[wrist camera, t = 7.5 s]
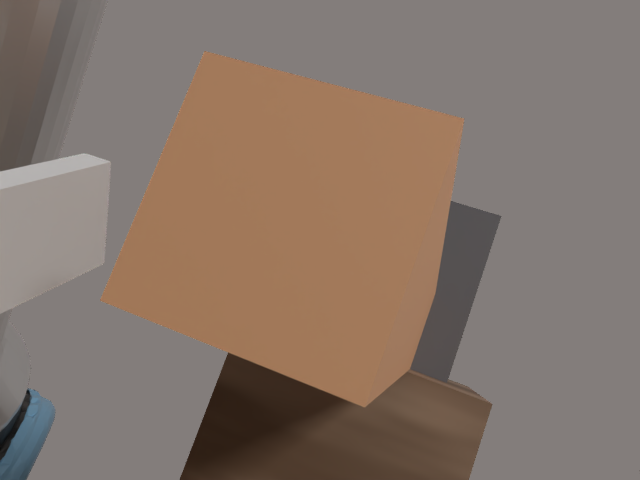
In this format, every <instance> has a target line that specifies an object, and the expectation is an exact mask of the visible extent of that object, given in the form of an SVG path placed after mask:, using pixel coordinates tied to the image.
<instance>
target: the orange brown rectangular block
mask: <svg viewBox="0 0 640 480" xmlns="http://www.w3.org/2000/svg"><path fill="white" fill-rule="evenodd" d="M463 124H464V119H463V118H459V117H456V116H452V115H448V114H444V113H441V112H437V111H433V110H429V109H425V108H421V107H417V106H414V105H409V104H406V103H402V102H398V101H394V100H391V99H387V98H383V97H379V96H375V95H371V94H367V93H364V92H360V91H356V90H352V89H348V88H344V87H341V86H337V85H333V84H329V83H325V82H321V81H318V80H313V79H310V78H306V77H302V76H298V75H294V74H291V73H287V72H282V71H279V70H275V69H271V68H268V67H264V66H260V65H256V64H252V63H248V62H244V61H241V60H237V59H233V58H229V57H225V56H221V55H218V54H214V53H210V52H206V51H205V52H204V54H203V56H202V59H201V61H200V64H199V66H198V68H197V70H196V73H195V75H194V78H193V80H192V82H191V85H190V87H189V90H188V92H187V95H186V97H185V99H184V102H183V104H182V106H181V109H180V111H179V113H178V116H177V118H176V121H175V123H174V125H173V128H172V130H171V133H170V135H169V137H168V140H167V142H166V145H165V147H164V149H163V152H162V154H161V156H160V159H159V161H158V163H157V166H156V168H155V171H154V173H153V175H152V178H151V180H150V183H149V185H148V187H147V190H146V192H145V194H144V197H143V199H142V202H141V204H140V206H139V209H138V211H137V214H136V216H135V218H134V221H133V223H132V226H131V228H130V230H129V233H128V235H127V237H126V240H125V242H124V245H123V247H122V249H121V252H120V254H119V257H118V259H117V261H116V264H115V266H114V268H113V271H112V273H111V276H110V278H109V281H108V283H107V286H106V288H105V290H104V292H103V295H102V297H101V299H100V300H101V301H102V302H105V303H107V304H110V305H113V306H115V307H117V308H120V309H122V310H125V311H127V312H130V313H132V314H135V315H137V316H139V317H142V318H144V319H147V320H149V321H152V322H155V323H157V324H159V325H162V326H164V327H167V328H170V329H172V330H174V331H177V332H179V333H182V334H184V335H187V336H189V337H192V338H194V339H196V340H199V341H202V342H204V343H206V344H209V345H211V346H214V347H216V348H219V349H221V350H224V351H226V352H229V353H231V354H234V355H236V356H239V357H241V358H243V359H246V360H248V361H251V362H253V363H256V364H258V365H261V366H263V367H266V368H268V369H271V370H273V371H276V372H278V373H281V374H283V375H286V376H288V377H290V378H293V379H295V380H298V381H300V382H303V383H305V384H308V385H310V386H313V387H315V388H318V389H320V390H323V391H325V392H328V393H330V394H333V395H335V396H338V397H340V398H342V399H345V400H347V401H350V402H352V403H355V404H357V405H360V406H362V407H366V406H367V405H368V404H370V403H371V402H372V401H373V400H374V399H375V398H377V397H378V396H379V395H380V394H381V393H382V392H384V391H385V390H386V389H387V388H388V387H389V386H391V385H392V384H393V383H394V382H395V381H397V380H398V379H399V378H400V377H401V376H402V375H404V374H405V373H406V372H407V371H408V370H409V369H411V370H414V371H416V372H419V373H422V374H424V375H427V376H430V377H432V378H435V379H438V380H440V381H443V382H446V383H447V381H448V378H449V375H450V372H451V368H452V365H453V362H454V359H455V356H456V353H457V350H458V347H459V344H460V341H461V338H462V335H463V332H464V328H465V326H466V323H467V320H468V317H469V314H470V310H471V307H472V304H473V301H474V298H475V295H476V292H477V289H478V286H479V283H480V280H481V277H482V274H483V270H484V268H485V264H486V262H487V258H488V255H489V252H490V249H491V246H492V243H493V240H494V237H495V234H496V230H497V228H498V224H499V221H500V218H501V216H499V215H496V214H492V213H489V212H486V211H483V210H479V209H476V208H472V207H469V206H466V205H462V204H459V203H456V202H452V201H451V196H452V190H453V184H454V178H455V172H456V166H457V160H458V154H459V148H460V141H461V136H462V130H463Z"/></svg>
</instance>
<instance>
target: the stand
mask: <svg viewBox="0 0 640 480" xmlns="http://www.w3.org/2000/svg"><path fill="white" fill-rule="evenodd" d="M491 407H492V404H491V403H490V402H488V401H487V400H486V399H484V398H483V397H481V396H480V395H479V394H477V393H476V392H474V391H473V390H472V389H470V388H469V387H467V386H465V385H462V384H459V383H457V382H454V381H451V380H449V379H448V381H447V383H446V382H443V381H440V380H438V379H435V378H432V377H430V376H427V375H424V374H422V373H419V372H416V371H414V370H411V369H409V370H408V371H407V372H406V373H405V374H404V375H402V376H401V377H400V378H399V379H398V380H397V381H395V382H394V383H393V384H392V385H391V386H389V387H388V388H387V389H386V390H385V391H384V392H382V393H381V394H380V395H379V396H378V397H377V398H375V399H374V400H373V401H372V402H371V403H370V404H368V405H367V406H366V407H362V406H360V405H357V404H355V403H352V402H350V401H347V400H345V399H342V398H340V397H338V396H335V395H333V394H330V393H328V392H325V391H323V390H320V389H318V388H315V387H313V386H310V385H308V384H305V383H303V382H300V381H298V380H295V379H293V378H290V377H288V376H286V375H283V374H281V373H278V372H276V371H273V370H271V369H268V368H266V367H263V366H261V365H258V364H256V363H253V362H251V361H248V360H246V359H243V358H241V357H239V356H236V355H234V354H231V353H229V352H228V355H227V357H226V360H225V362H224V365H223V368H222V370H221V373H220V376H219V378H218V381H217V383H216V386H215V389H214V391H213V394H212V396H211V399H210V402H209V404H208V407H207V409H206V412H205V415H204V417H203V420H202V423H201V425H200V428H199V430H198V433H197V436H196V438H195V441H194V444H193V446H192V449H191V451H190V454H189V457H188V459H187V462H186V465H185V467H184V470H183V472H182V475H181V477H180V480H469V477H470V474H471V471H472V467H473V464H474V461H475V458H476V455H477V451H478V448H479V445H480V442H481V439H482V436H483V432H484V429H485V426H486V423H487V419H488V416H489V413H490V410H491Z"/></svg>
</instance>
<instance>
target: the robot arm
mask: <svg viewBox="0 0 640 480" xmlns="http://www.w3.org/2000/svg"><path fill="white" fill-rule="evenodd" d="M107 2H108V0H0V480H26V479H27V477H28V475H29V473H30V471H31V469H32V467H33V465H34V463H35V461H36V459H37V457H38V455H39V453H40V451H41V449H42V447H43V444H44V442H45V440H46V438H47V435H48V433H49V431H50V429H51V426H52V424H53V421H54V418H55V408H54V406H53V404H52V402H51V401H49V400H48V399H46V398H43V397H41V396H40V395H39V393H38V392H36V391H35V390H31V389H29V388H28V384H29V377H30V370H31V365H30V356H29V353H28V350H27V347H26V344H25V342H24V340H23V338H22V337H21V335H20V333H19V332H18V331H17V329H16V328H15V327H14V325H13V324H12V323H11V322H10V321H9V318H10V314H11V311H12V308H13V307H16V306H18V305H19V304H22V303H24V302H26V301H28V300H30V299H32V298H34V297H36V296H38V295H40V294H42V293H44V292H46V291H48V290H50V289H53V288H55V287H57V286H59V285H61V284H63V283H65V282H67V281H69V280H71V279H73V278H75V277H77V276H79V275H81V274H83V273H86V272H88V271H90V270H92V269H94V268H96V267H98V266H100V265H102V264H104V257H105V243H106V228H107V214H108V198H109V183H110V168H111V162H110V161H107V160H104V159H101V158H98V157H95V156H92V155H89V154H86V153H84V154H79V155H74V156H70V157H65V158H61V159H59V156H60V153H61V150H62V147H63V144H64V140H65V137H66V134H67V131H68V128H69V124H70V121H71V118H72V115H73V111H74V108H75V105H76V101H77V99H78V95H79V92H80V89H81V85H82V82H83V79H84V76H85V72H86V70H87V66H88V63H89V60H90V57H91V53H92V50H93V47H94V44H95V41H96V37H97V34H98V31H99V28H100V24H101V21H102V18H103V15H104V12H105V8H106V5H107Z"/></svg>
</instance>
